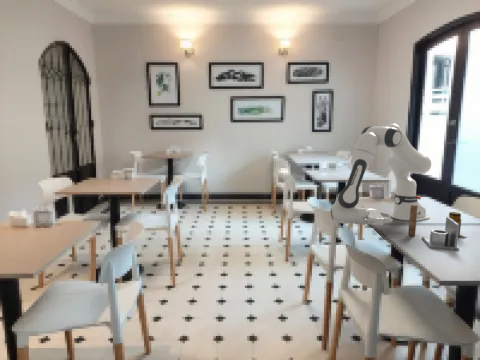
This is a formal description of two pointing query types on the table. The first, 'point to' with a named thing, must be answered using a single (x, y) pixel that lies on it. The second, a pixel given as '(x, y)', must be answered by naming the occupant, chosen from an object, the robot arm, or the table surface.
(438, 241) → the cup bracket
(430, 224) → the table surface
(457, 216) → the condiment
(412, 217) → the wooden cylinder rod
